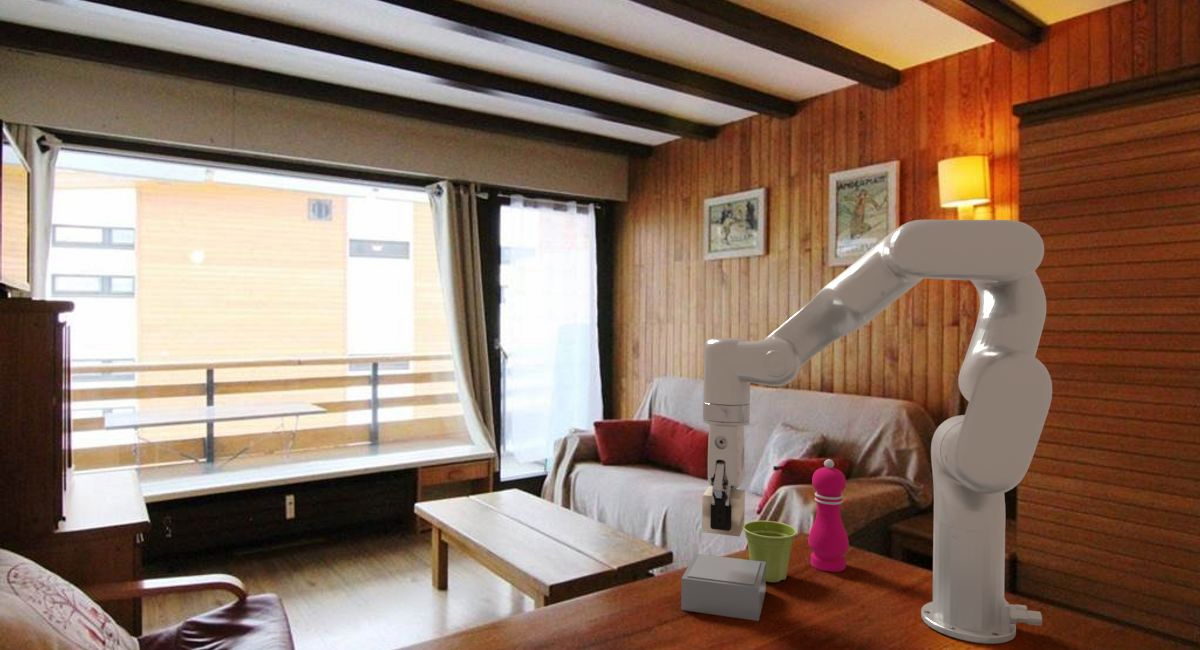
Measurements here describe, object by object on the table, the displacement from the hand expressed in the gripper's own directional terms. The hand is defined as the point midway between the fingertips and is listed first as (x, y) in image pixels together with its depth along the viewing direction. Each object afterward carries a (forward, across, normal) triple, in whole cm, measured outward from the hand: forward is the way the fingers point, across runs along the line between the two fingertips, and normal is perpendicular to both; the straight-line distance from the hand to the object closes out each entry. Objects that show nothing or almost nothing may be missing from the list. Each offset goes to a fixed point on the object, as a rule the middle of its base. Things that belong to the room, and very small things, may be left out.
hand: (723, 522), depth 112 cm
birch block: (+1, 0, 0) cm, 1 cm away
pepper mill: (+13, +22, -16) cm, 30 cm away
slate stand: (+13, 0, 0) cm, 13 cm away
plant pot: (+13, +13, -6) cm, 19 cm away
